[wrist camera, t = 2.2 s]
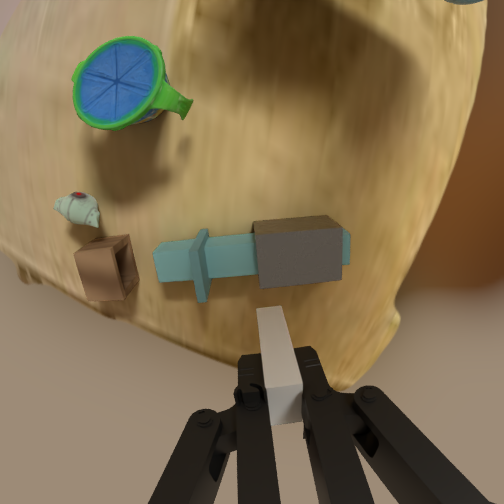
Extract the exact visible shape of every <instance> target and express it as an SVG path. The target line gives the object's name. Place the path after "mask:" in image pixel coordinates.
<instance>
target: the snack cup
mask: <svg viewBox="0 0 504 504" xmlns="http://www.w3.org/2000/svg"><path fill="white" fill-rule="evenodd" d="M71 80H72V81H73V82H74V86H73V103H74V107H75V110H76V112H77V115H78V116H79V118H80V119H82V120H83V121H84V122H85V123H86V124H88V125H90V126H91V127H94V128H98V129H103V130H112V131H116V130H120V129H123V128H125V127H126V126H129V125H132V124H138V123H143V122H148V121H150V120H152V119H154V118H156V117H157V116H158V115H160V114H161V113H162V111H163V110H168V111H171V112H175V113H178V114H180V116H181V119H182V120H184V118H185V117H186V115H187V113H188V111H189V109H190V107H191V105H192V103H193V99H187V98H185V97H184V96H183V95H181V94H180V93H179V92H177V91H176V90H175V89H173V88H172V87H171V86H170V84H169V80H168V77H167V75H166V69H165V63H164V60H163V57H162V52H161V50H160V49H159V48H158V47H157V46H156V45H153V44H152V43H150V42H149V41H147V40H145V39H143V38H141V37H135V36H124V37H119V38H115V39H113V40H110V41H108V42H106V43H104V44H103V45H101V46H99V47H98V48H97V49H96V50H94V51H93V52H92V53H91V54H90V55H89V56H88V57H87V59H86V60H85V61H82V62H80V63H79V64H78V66H77V68H76V70H75V72H74V74H73V76H72V79H71Z"/></svg>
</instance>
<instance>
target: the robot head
mask: <svg viewBox="0 0 504 504" xmlns="http://www.w3.org/2000/svg"><path fill="white" fill-rule="evenodd" d="M54 210H56V211H58V212H59V213H61V214H62V215H63V216H64V217H65V218H66V219H67V220H68V221H70V222H72V223H75V224H84V225H90V226H94V227H97V228H98V227H99V216H100V213H99V211H98V204H97V201H96V199H95V198H94V197H93V196H91V195H89V194H87V193H83V192H74V193H72V194H70V195H68V196H66V197H60V198H59V199H57V200H56V202H55V205H54Z"/></svg>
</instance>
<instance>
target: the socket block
mask: <svg viewBox="0 0 504 504" xmlns="http://www.w3.org/2000/svg"><path fill="white" fill-rule="evenodd" d="M74 258H75V261H76V265H77V268H78V272H79V275H80V278H81V281H82V284H83V288H84V291H85V294H86V297H87V299H88V301H114V300H125V298H126V297H127V295H128V294H129V293H130V291H131V290H132V289H133V287H134V286H135V285H136V283H137V282H138V281H139V275H138V271H137V267H136V263H135V259H134V254H133V250H132V245H131V241H130V236H129V234H126V235H118V236H111V237H104V238H97V239H94V240H93V241H91V242H90V243H88V244H87V245H85V246H84V247H82V248H81V249H79V250H78V251H76V252H75V253H74Z"/></svg>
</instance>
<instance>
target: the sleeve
mask: <svg viewBox="0 0 504 504" xmlns="http://www.w3.org/2000/svg"><path fill="white" fill-rule="evenodd" d="M253 225H254V233H255V240H256V251H257V262H258V273H259V274H258V276H259V285H260V289H265V288H275V287H285V286H294V285H303V284H312V283H320V282H329V281H337V280H342V252H343V227H342V226H340V225H339V224H338V223H337V222H335V221H334V220H333V219H331V218H330V217H329V216H327V215H324V216H310V217H298V218H286V219H274V220H263V221H253Z"/></svg>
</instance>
